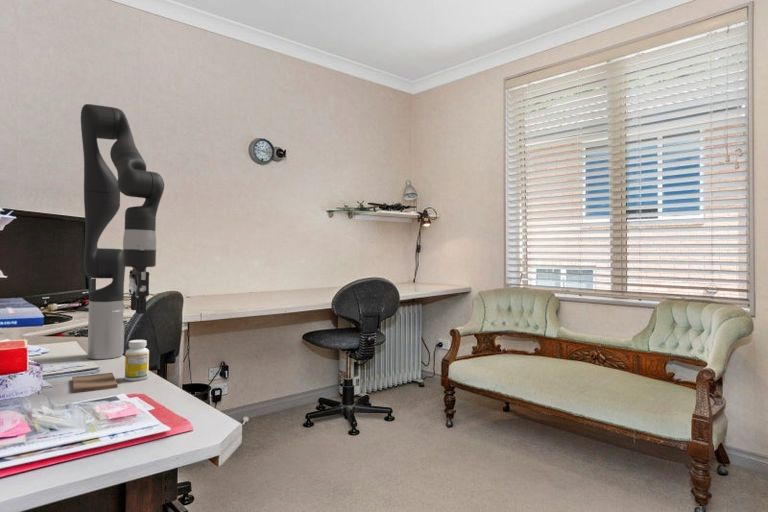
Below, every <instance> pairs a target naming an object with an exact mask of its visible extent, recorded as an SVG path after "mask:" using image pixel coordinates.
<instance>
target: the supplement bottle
mask: <svg viewBox="0 0 768 512" xmlns="http://www.w3.org/2000/svg"><path fill="white" fill-rule="evenodd" d="M147 345H148V343H147V340H145V339H133V340H128V349H127V350H126V351H125V356H124V357H125V361H124V362H125V363H124V379H125V380H126V381H127V382H128V381H129V382H138V381H144V380H146V379H148V378H149V369H150V364H149V363H150V361H149V360H150V350H149V349H148V348H147Z"/></svg>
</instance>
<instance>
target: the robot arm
mask: <svg viewBox="0 0 768 512" xmlns="http://www.w3.org/2000/svg"><path fill="white" fill-rule="evenodd" d="M80 129H81V139H82V140H81V141H82V151H83V203H84V204H83V205H84V223H85V228H84V229H85V230H84V231H85V232H84V233H85V234H84V252H83V269H84V274H85V276H86V277H87V279H112V281H111V283H109V284H107V285H106V286H103V287H101V288H97V289H94V290H92V291H90V292H89V294H88V318H87V319H88V325H87V326H88V327H87V330H88V331H87V358H88V357H89V358H90V360H106V359H114V358H115V359H116V358H120V357H122V356H123V354H124V352H125V351H124V350H125V324H124V303H125V299H124V297H125V294H124V293H125V290H124V289H125V272H126V268H127V267H128V268H132V269H130V270H129V274H128V277H129V278H128V279H129V284H128V288H129V289H128V292H129V295H130V310H131V311H135V313H136V314H138V315H140V314H141V315H144V314H146V313H147V298H148V297H149V296H150V292H149V291H150V290H149V289H150V287H149V286H150V285H149V284H150V272H149V271H147V268H155V267H156V265H157V264H156V263H157V261H156V260H157V235H156V233H157V232H156V226H157V225H156V224H157V223H156V222H157V221H156V220H157V219H156V218H157V212H158V209H159V205H160V202H161V199H162V196H163V195H164V194H163V193H164V189H165V181H164V179H163V177H162V175H161V174H159V172H156V171H149V170H147V164H146V161H145V160H144V158H143V157H142V155H141V153H140V152H139V150H138V148H137V146H136V143H135V141H134V137H133V133H132V130H131V127H130V123H129V121H128V118H127V116H126V114H125V112H124V111H123V110H122V109H120V108H118V107H113V106H112V107H111V106H104V105H100V104H99V105H98V104H91V103H86V104H84V105H83V106H82V108H81V110H80ZM98 139H99V140H100V139H101V140H111V141H112V140H116V141H115V142H114V143H113V144H112V146H111V148H110V151H109V153H110V154H109V155H110V159H111V161H112V164H113V166H114V167H115V169H116V171H117V176H116V175H115V174H114V172H113V171H112V170H111V168H110V167H109V166H108V164H107V163H106V162H105V160H104V158H103V156H102V154H101V151H100V148H99V145H98ZM121 194H123V195H124V196H126V197H131V198H139V199H140V198H141V199H145V200H144V202H143V204H142V205H138V206H137V205H136V206H130V207H127V208H126V209H125V211H124V233H123V237H122V238H123V239H122V249H121V248H100V247H99V248H98V243H99V239H100V237H101V235H102V234H103V233H104V231H105V229H106V228H107V226H108V225H109V224H110V223H111V221H112V220H113V219H114V218H115V216H116V215H117V214H118V211H120V208H121V207H120V206H121ZM89 358H88V359H89Z"/></svg>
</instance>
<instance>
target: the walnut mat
mask: <svg viewBox="0 0 768 512" xmlns="http://www.w3.org/2000/svg"><path fill="white" fill-rule="evenodd" d="M71 379H72V388H73V389H72V390H73V393H75V394H76V393H82V392H92V391H93V392H94V391H100V390H108V389H117V388H118V382H117V380H116V377H115V376H114V374H113V372H104V373H97V374H88V375H87V374H86V375H78V376H77V375H75V376H72V378H71Z"/></svg>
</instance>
